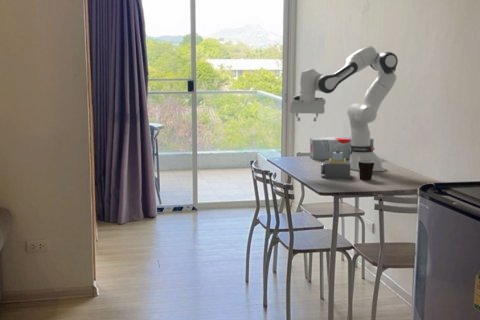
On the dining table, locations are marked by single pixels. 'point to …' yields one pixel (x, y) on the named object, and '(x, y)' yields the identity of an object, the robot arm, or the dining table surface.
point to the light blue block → (337, 156)
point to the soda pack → (331, 147)
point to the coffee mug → (365, 169)
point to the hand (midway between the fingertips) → (306, 121)
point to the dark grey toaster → (336, 169)
